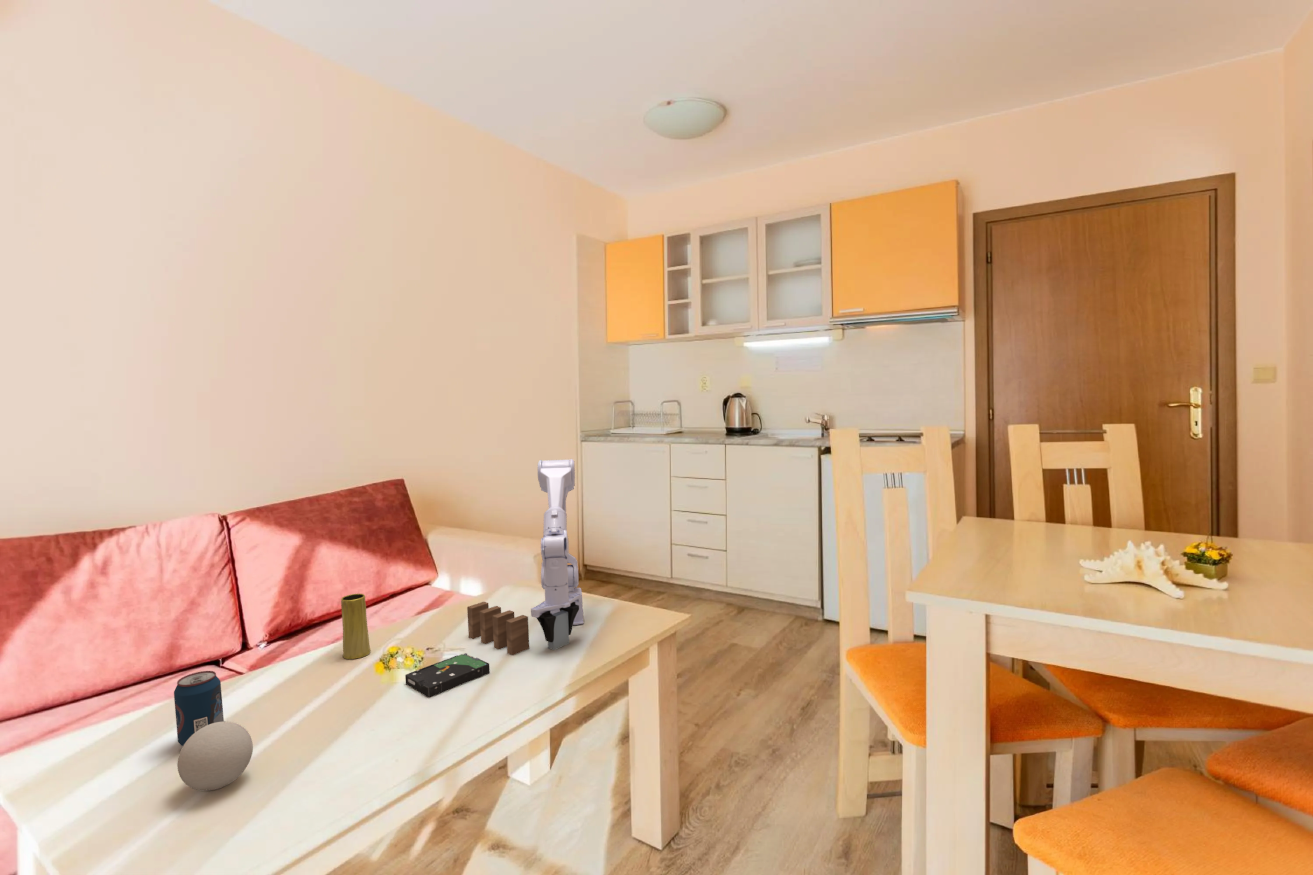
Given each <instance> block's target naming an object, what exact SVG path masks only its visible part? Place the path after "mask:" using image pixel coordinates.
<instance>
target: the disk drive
mask: <svg viewBox="0 0 1313 875" xmlns="http://www.w3.org/2000/svg"><path fill="white" fill-rule="evenodd" d="M490 668H491V667H490V663H489V662H487V661H485V660H482V659H481V658H478V657H474V656H471V655H470V654H468V653H461V654H459V655H454V656H452V657H449V658H447V659H444V660H443V659H442V660H441V661H438V662H436V663H434V664H433V663H432V664H431V665H428V666H425V667H422V668H420V669H416V670H414V671H411V672H409V673H407V674H405V675H404V676H405V678H404V679H405V685H406V686H409V687H410V688H411V689H414V690H415V691H416V692H419V693H420V694H422V695H423V696H425V697H427V698H428V699H430V698H433V697H435V696H437V695H441V694H443V693H444V692H447V691H450V690H452V689H454V688H457V687H459V686H461V685H464V684H466V683H467V684H468V683H469V682H472V681H474V680H475V679H479V678H482V677H484V676H486V675H488V674H489V675H490V671H491V670H490Z"/></svg>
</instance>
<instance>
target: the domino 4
mask: <svg viewBox="0 0 1313 875" xmlns="http://www.w3.org/2000/svg"><path fill="white" fill-rule="evenodd" d="M552 615H554V616H556V620H555V624H554V641H553V642H552V643H551V642H548V641H547V646H548V647H547V648H548V649H550V650H552V651H555V650H557V649H559V648H561V647H564V646H566V645H569V644H570V635H569V624H568V612H567V611H563V610H562V611H559V612H557V613H554V614H552Z"/></svg>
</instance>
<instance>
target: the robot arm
mask: <svg viewBox="0 0 1313 875" xmlns="http://www.w3.org/2000/svg"><path fill="white" fill-rule="evenodd" d="M575 466H576V464H575V460H574V459H573V458H570V459H549V460H548V459H545V460H542V459H539V461H538V462H537V479H538V480H537V481H538V483H539V488H540V490H541V491H542V492H544V493H547V502H548V503H547V505H548V509H546V511H544V513H543V530H542V534H543V536H542V537H541V539H540V555H541V559H542V562H541V568H540V569H541V570H540V571H541V572H540V582H541V588H542V589H543V590H544V601H542V602H540V603H539V604H538V605H535V606H533V607H531V608H530V617H532V618H535V619H536V620H537V622H538V623H539V624H540V627H541V629H542V632H543V635H544V638H545V641H546V642H547V643H548V642H551V643H552V642H553V641H554V624H555V620H556V616H554V615H552V614H554V613H557V612H559V611H562V610H563V611H567V612H568V624H569V636H571V635H572V631H573V626H576V625H584V608H583V603H584V602H583V592H582V588H581V587H579V566H578V560H577V558H576V557H575V556H574V555H572V554H571V553H570V551H569V550H570V543H569V542H570V541H569V538H568V537H569V536H568V527H567V526H568V518H567V517H568V516H567V497H568V495H569V494H568V493H569V492H571V491H573V490H574V489H575V487H576V483H575V482H576V472H575V471H576V469H575V468H576V467H575Z"/></svg>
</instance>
